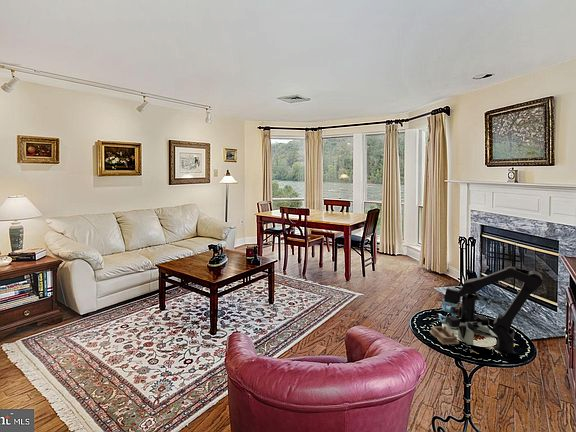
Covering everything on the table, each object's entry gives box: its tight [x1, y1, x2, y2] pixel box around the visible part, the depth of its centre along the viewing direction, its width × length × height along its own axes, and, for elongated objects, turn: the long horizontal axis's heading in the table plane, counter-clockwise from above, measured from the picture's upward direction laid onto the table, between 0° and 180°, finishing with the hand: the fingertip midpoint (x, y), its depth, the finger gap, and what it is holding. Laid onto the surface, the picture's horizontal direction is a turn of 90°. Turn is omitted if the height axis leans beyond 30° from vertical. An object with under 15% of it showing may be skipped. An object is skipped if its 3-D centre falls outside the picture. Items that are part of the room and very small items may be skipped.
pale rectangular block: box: [457, 327, 475, 346], centre depth 164 cm, size 8×3×6 cm, turn 6°
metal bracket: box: [465, 322, 498, 338], centre depth 176 cm, size 14×6×15 cm
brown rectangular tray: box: [429, 325, 460, 345], centre depth 166 cm, size 12×8×4 cm, turn 6°
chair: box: [438, 298, 458, 324], centre depth 185 cm, size 8×8×12 cm
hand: (465, 337), depth 164 cm, fingers closed on pale rectangular block, 2 cm apart
